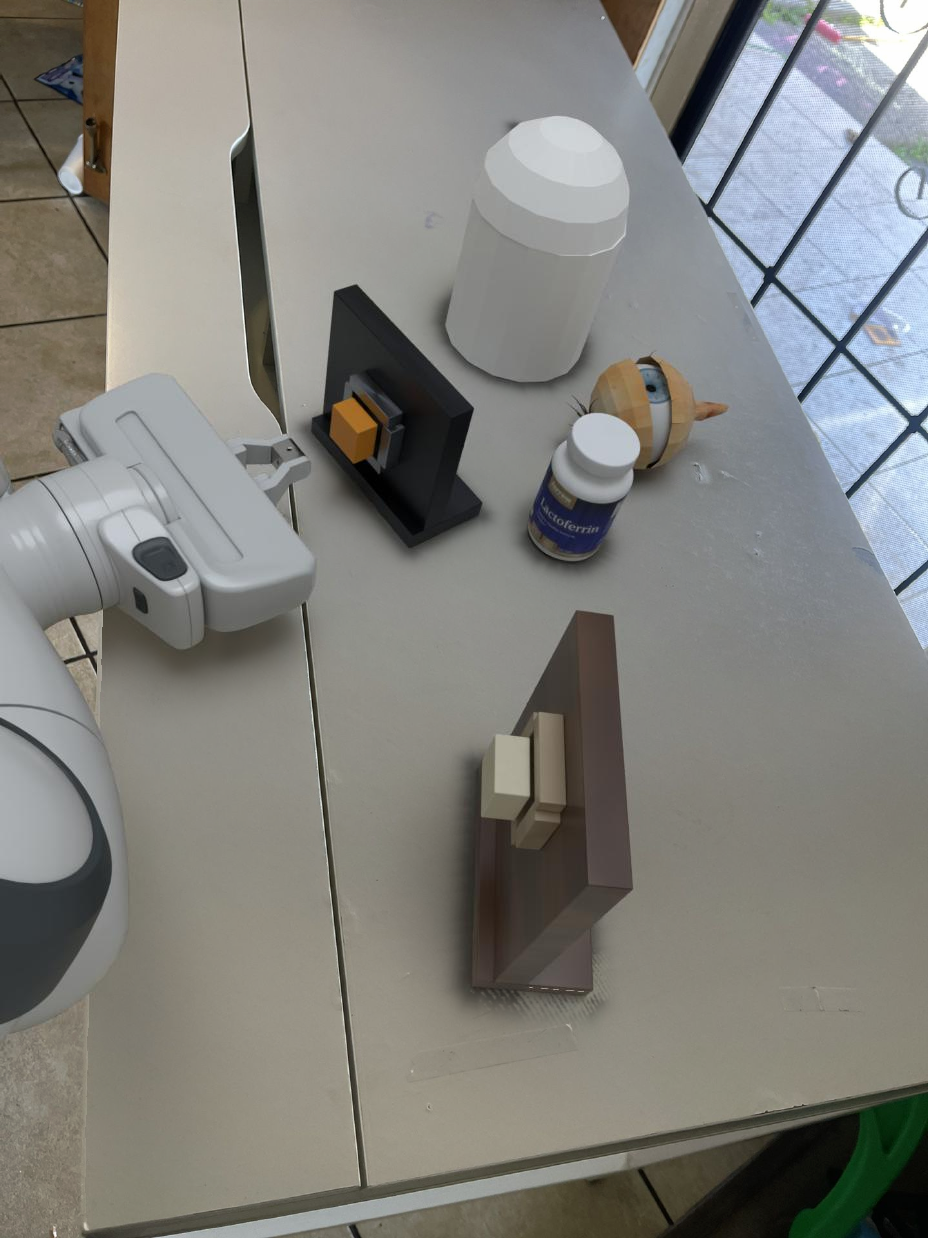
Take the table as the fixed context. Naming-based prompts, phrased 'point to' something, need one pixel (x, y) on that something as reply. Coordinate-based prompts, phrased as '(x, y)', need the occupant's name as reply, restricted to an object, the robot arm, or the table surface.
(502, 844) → the brown button panel
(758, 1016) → the table surface
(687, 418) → the sculpture
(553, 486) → the pill bottle
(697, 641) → the table surface
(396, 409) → the black button panel
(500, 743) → the button near
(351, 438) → the button far
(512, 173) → the container
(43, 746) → the robot arm
